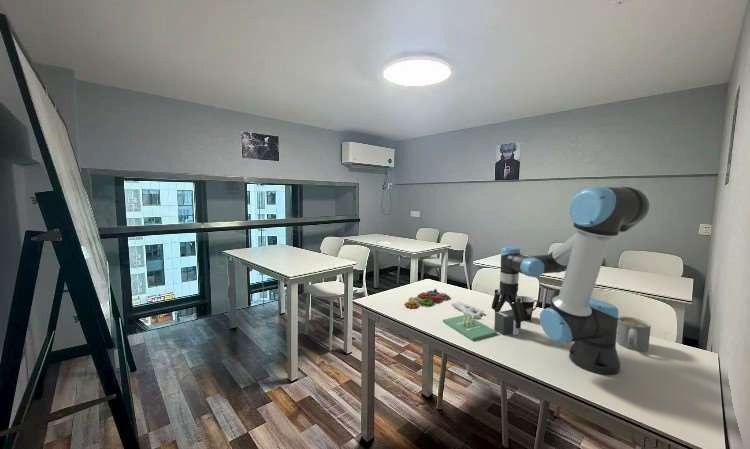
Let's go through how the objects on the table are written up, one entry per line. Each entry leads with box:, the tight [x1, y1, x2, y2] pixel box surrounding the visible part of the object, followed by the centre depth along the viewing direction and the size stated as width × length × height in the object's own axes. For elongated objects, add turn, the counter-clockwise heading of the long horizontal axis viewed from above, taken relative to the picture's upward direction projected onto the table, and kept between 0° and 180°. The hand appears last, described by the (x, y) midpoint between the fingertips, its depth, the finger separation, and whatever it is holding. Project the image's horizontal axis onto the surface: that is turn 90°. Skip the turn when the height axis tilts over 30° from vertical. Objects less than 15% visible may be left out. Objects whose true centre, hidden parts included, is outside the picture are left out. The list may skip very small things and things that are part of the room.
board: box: [442, 314, 498, 342], centre depth 138 cm, size 20×14×5 cm
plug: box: [493, 309, 521, 336], centre depth 135 cm, size 5×10×8 cm, turn 114°
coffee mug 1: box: [517, 295, 540, 322], centre depth 148 cm, size 12×9×10 cm
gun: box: [451, 300, 485, 320], centre depth 157 cm, size 18×3×10 cm
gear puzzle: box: [403, 288, 452, 309], centre depth 173 cm, size 31×16×4 cm, turn 129°
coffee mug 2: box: [616, 316, 652, 353], centre depth 121 cm, size 13×10×10 cm
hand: (506, 329), depth 136 cm, fingers open, 9 cm apart
